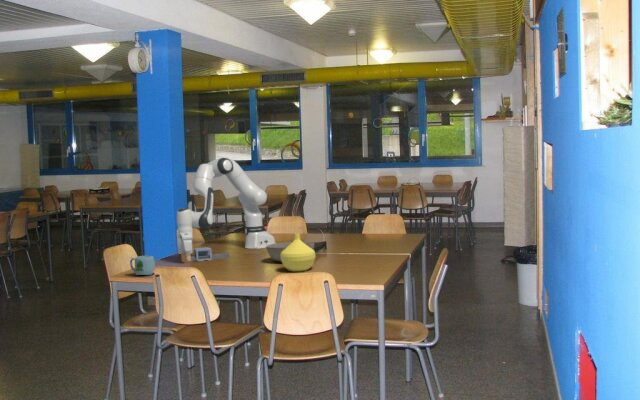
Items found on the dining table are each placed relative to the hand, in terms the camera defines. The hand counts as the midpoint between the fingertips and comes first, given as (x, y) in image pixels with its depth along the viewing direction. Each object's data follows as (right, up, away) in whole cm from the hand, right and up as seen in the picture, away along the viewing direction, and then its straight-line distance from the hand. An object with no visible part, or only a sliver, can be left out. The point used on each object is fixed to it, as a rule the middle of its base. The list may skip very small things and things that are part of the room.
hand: (186, 258), depth 400 cm
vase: (+68, -2, -49) cm, 84 cm away
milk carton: (-7, 0, +31) cm, 32 cm away
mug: (-16, -6, -39) cm, 43 cm away
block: (0, -2, 0) cm, 2 cm away
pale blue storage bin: (+9, -1, +3) cm, 10 cm away
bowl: (+63, 0, -17) cm, 65 cm away
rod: (+13, -1, +4) cm, 14 cm away
